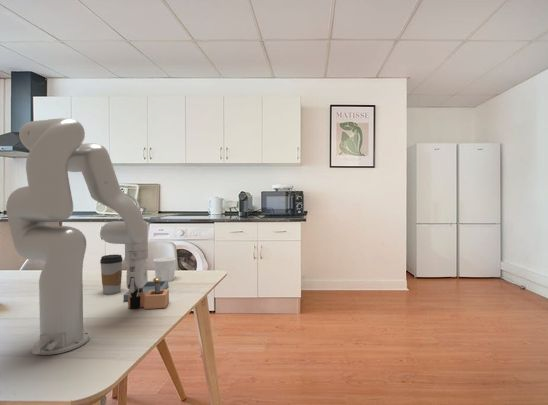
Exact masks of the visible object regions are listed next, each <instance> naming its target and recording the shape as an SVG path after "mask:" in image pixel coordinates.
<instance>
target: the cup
mask: <svg viewBox="0 0 548 405" xmlns="http://www.w3.org/2000/svg"><path fill="white" fill-rule="evenodd" d="M176 260H177V258H176V257H173V256H164V257H163V256H162V257H157V258H154V259H153V261H152V262H153V267H154V275H155V277H154V278H161V281H168V283H170V282H171V281H174V280H175V274H176V273H175V272H176V271H175V270H176Z"/></svg>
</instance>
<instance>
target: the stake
mask: <svg viewBox="0 0 548 405" xmlns="http://www.w3.org/2000/svg"><path fill="white" fill-rule="evenodd" d="M153 281H154V282H155V294H160V281H161V278H155V277H154V278H153Z"/></svg>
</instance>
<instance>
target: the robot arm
mask: <svg viewBox="0 0 548 405" xmlns="http://www.w3.org/2000/svg"><path fill="white" fill-rule="evenodd" d="M85 131H86V130H85V128H84V126H83V124H82V123H80V122H79V121H78V120H75V119H73V118H67V117H65V118H64V117H63V118H62V117H60V118H50V119H41V120H33V121H29V122H27V123H26V122H25V123H24V124H23V125H22V126H21V127H20V128H19V132H18V134H19V135H18V137H19V140H20V142H21V144H22V146H24V147H25V148H26V150H28V151H29V153H27V154H28V155H27V157H26V161H25V171H26V172H25V173H26V178H27V180H26V181H27V186H22V187H18V188H16V189H15V190H13V191H12V192H11V193H10V195H9V196H8V197H7V198H8V199H7V201H6V205H5V206H6V208H5V209H6V211H5V212H6V217H7V221H8V225H9V226H8V227H9V230H10V234H11V239H12V242H13V246H14V248H15V251H16V252H17V254H18V255H19V256H20V257H22V258H23V259H25V260H30V261H39V262H45V263H44V264H43V268H42V270H41V272H40V275H39V278H38V279H39V280H38V291H39V292H38V294H39V295H38V296H39V299H38V300H39V339H38V340H36V341H35V342H34V343H33V344H32V347H31V348H32V349H31V354H33V355H41V356H51V355H56V354H57V355H59V354H62V353H66V352H70V351H73V350H75V349H78V348H79V347H81V346H84V344H86V343H87V342H88V341H89V340H90V336H91V334H90V331H89V330H86V329H84V295H83V294H84V293H83V291H84V290H83V288H84V285H83V284H84V283H83V268H84V260H85V259H84V258H85V254H86V251H87V250H86V249H87V239H86V235H85V234H84V233H83V232H82V230H80V229H78V228H76V227H73V226H69V225H68V226H66V225H50V224H49V223H58V222H59V223H60V222H63V221H66V220H68V219H69V218H70V217H71V216H72V215H73V212H74V201H73V196H72V191H71V184H70V179H69V172H71V173H81V174H82V176H83V178H84V181H85V184H86V186H87V189H88V192H89V195H90V197H91V198H92V199H93V200H94V201H95V202H97V203H99V204H101V205H103V206H105V207H107V208H109V209H111V210H113V211H114V212H115V213H117V214H118V215H119V216H120V218H121V219H122V220H123V221H121V220H119V221H117V220H115V221H109V222H107V223H105V224H104V225H102V227H101V229H100V234H99V235H100V237H101V239H102V241H104V242H106V243H108V244H113V245H114V244H115V245H117V244H118V245H124V261H127V263H126V281H125V282H126V288H127V289H128V290H129V289H130V290H129V293H130V308H129V309H140V308H141V307H140V296H139V292H143V286H144V285H145V284H146V283H147V281H149V280H148V278H149V277H148V262H147V260H148V259H149V249H148V248H149V245H148V244H149V225H148V222H147V221H146V220H144V217H143V214H142V211H141V209H140V208H139V206H138V205H137V204H136V203H135V202H134V201H133V200H132V199H131V198H130V197H129V196H128V195H127V194H126V193H124V191H123V190H122V189H121V187H120V184H119V180H118V178H117V174H116V171H115V168H114V165H113V162H112V160H111V156H110V153H109V152H108V150H107V149H106V147H104V145H101V144H98V143H89V142H88V143H84V140H85V138H86V136H85V134H86V132H85Z"/></svg>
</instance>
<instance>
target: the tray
mask: <svg viewBox="0 0 548 405" xmlns="http://www.w3.org/2000/svg"><path fill="white" fill-rule="evenodd" d="M164 289H169V282H168V281H160V290H164ZM129 290H130V289H128V290H127V291H126V292H125V293H124V294H123V303H124V302H125V303H126V302H127V303H128V295H129V294H130V293H129ZM149 290H155V282H154V280H151V281H150V280H148V281H147V283H146V284H145V285H144V286H143V292H148V291H149Z"/></svg>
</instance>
